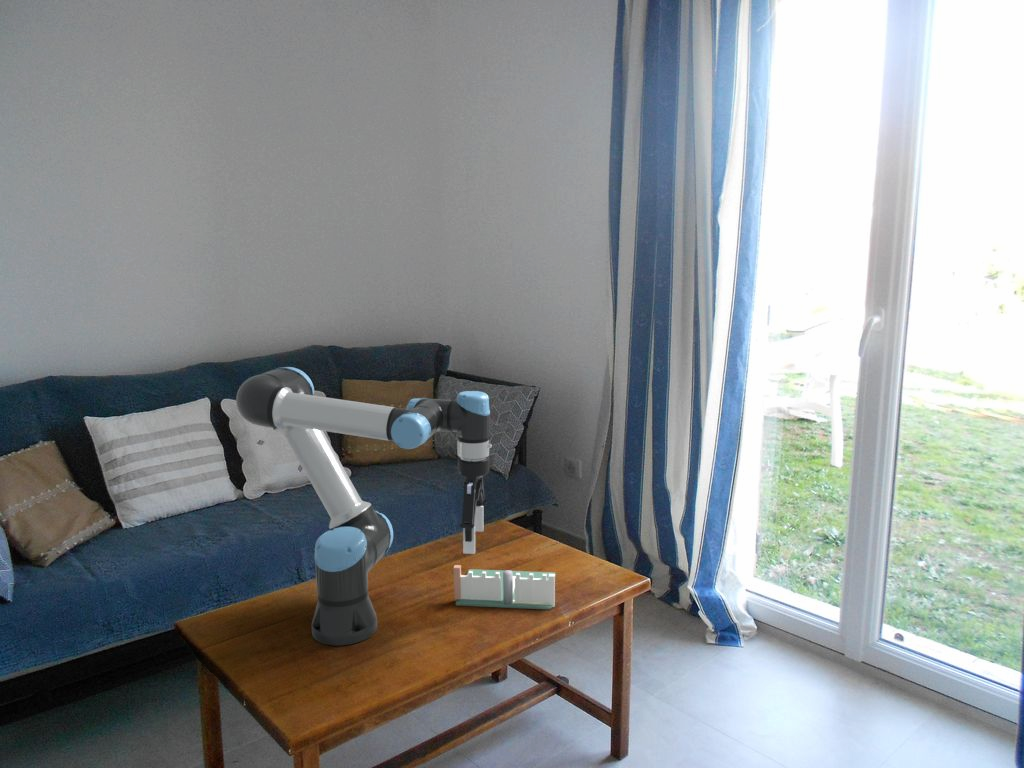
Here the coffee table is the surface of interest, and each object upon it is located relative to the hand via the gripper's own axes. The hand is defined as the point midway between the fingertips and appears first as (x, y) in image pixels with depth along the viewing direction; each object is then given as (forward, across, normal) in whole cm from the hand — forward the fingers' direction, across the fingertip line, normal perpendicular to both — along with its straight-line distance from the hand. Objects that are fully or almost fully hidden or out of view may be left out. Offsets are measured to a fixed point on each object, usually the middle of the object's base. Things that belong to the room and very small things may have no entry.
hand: (473, 541), depth 181 cm
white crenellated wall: (+17, +5, 0) cm, 18 cm away
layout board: (+18, +13, -7) cm, 24 cm away
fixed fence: (+18, +5, -13) cm, 23 cm away
